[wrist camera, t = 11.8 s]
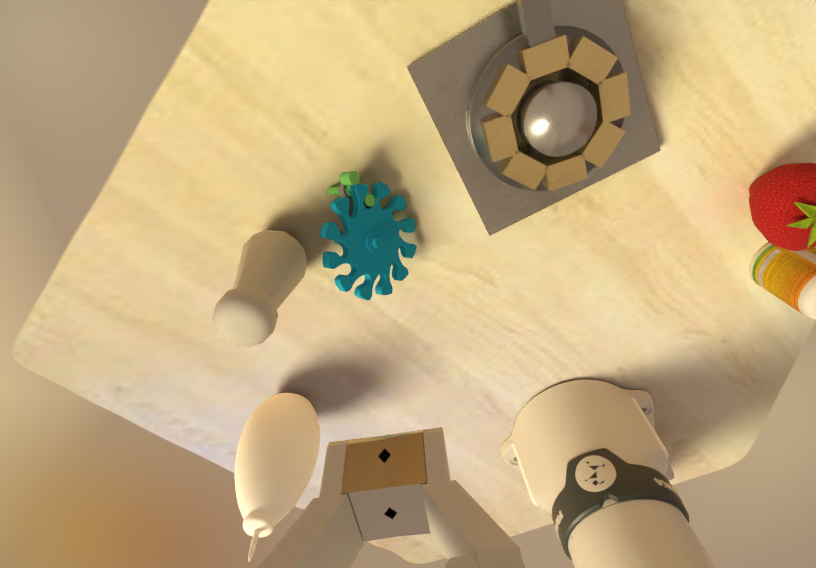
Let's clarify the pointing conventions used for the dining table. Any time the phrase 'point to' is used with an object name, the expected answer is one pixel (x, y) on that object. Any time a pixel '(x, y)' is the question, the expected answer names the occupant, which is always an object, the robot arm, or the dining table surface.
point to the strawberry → (786, 206)
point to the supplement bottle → (787, 276)
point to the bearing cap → (530, 105)
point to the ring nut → (540, 60)
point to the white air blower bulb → (275, 461)
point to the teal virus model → (367, 236)
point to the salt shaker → (260, 287)
